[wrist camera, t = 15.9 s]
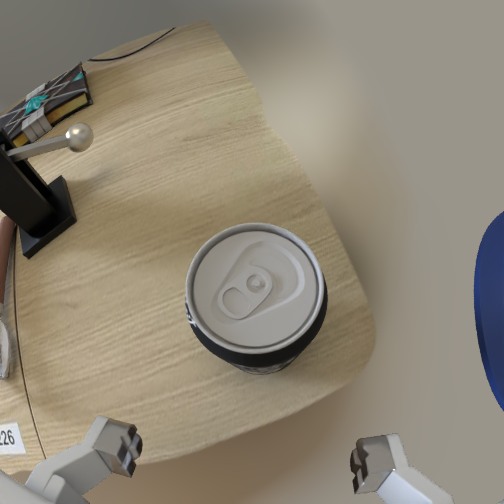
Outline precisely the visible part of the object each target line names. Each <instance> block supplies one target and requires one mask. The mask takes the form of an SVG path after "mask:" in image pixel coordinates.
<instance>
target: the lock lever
mask: <svg viewBox="0 0 504 504" xmlns="http://www.w3.org/2000/svg"><path fill="white" fill-rule="evenodd" d="M92 142H93V131H92V129H91V127H90V126H89V125H87V124H85V123H77V124H75V125H73V126H72V127H70V129H69V130H68V131H67V133H66V135H62V136H58V137H54V138H50V139H46V140H42V141H39V142H35V143H32V144H28V145H25V146H22V147H18V148H15V149H12V150H9V151H6V150H5V145H4V144H2V145H0V147H1V148H2V149H3V150H4V152H5V153H6V154H7V155H8V157H9V158H10V159H11V160H12V161H13V162H16V161H19V160H22V159H26V158H29V157H32V156H36V155H39V154H43V153H46V152H50V151H53V150H57V149H61V148H65V147H68V148H69V149H70V150H71V151H73V152H77V153H79V152H83V151H85V150H87V149H88V148H89V147H90V145H91V144H92Z"/></svg>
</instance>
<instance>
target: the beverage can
mask: <svg viewBox="0 0 504 504" xmlns="http://www.w3.org/2000/svg"><path fill="white" fill-rule="evenodd" d="M327 302H328V295H327V286H326V282H325V278H324V275H323V273H322V269H321V267H320V264H319V262H318V259H317V258H316V256H315V254H314V253H313V251H312V250H311V248H310V247H309V246H308V245H307V244H306V243H305V242H304V241H303V240H302V239H301V238H300V237H298V236H297V235H296V234H294V233H292V232H291V231H289V230H287V229H285V228H282V227H279V226H276V225H272V224H268V223H245V224H239V225H236V226H232V227H230V228H227V229H225V230H223V231H221V232H219V233H218V234H216V235H215V236H213V237H212V238H211V239H209V240H208V241H207V242H206V243H205V244H204V245H203V246H202V247H201V248H200V250H199V251H198V252H197V254H196V255H195V257H194V259H193V261H192V262H191V265H190V268H189V270H188V274H187V279H186V295H185V305H186V312H187V317H188V320H189V323H190V325H191V328H192V330H193V332H194V333H195V335H196V336H197V338H198V339H199V340H200V342H201V343H202V344H203V345H204V346H205V347H206V348H207V349H208V350H209V351H211V352H212V353H213V354H215V355H216V356H218V357H219V358H221V359H223V360H225V361H226V362H228V363H230V364H232V365H233V366H235V367H237V368H239V369H241V370H243V371H245V372H248V373H252V374H260V375H262V374H271V373H274V372H277V371H280V370H282V369H283V368H285V367H287V366H288V365H289V364H290V363H291V362H292V361H293V360H294V359H295V358H296V357H297V356H298V355H299V354H300V353H301V352H302V351H303V350H304V349H305V348H306V347H307V346H308V345H309V344H310V342H311V341H312V340H313V339H314V338H315V336H316V335H317V333H318V331H319V330H320V328H321V326H322V323H323V321H324V318H325V315H326V310H327Z"/></svg>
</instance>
